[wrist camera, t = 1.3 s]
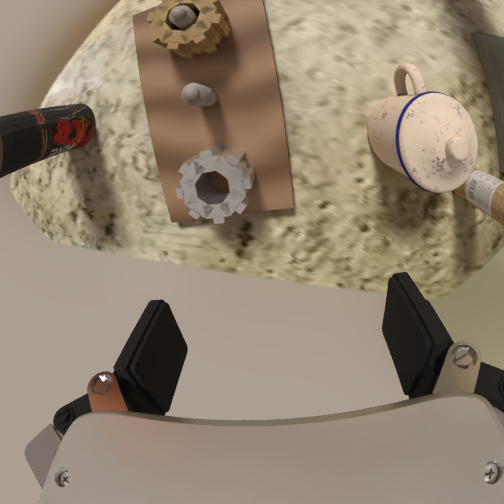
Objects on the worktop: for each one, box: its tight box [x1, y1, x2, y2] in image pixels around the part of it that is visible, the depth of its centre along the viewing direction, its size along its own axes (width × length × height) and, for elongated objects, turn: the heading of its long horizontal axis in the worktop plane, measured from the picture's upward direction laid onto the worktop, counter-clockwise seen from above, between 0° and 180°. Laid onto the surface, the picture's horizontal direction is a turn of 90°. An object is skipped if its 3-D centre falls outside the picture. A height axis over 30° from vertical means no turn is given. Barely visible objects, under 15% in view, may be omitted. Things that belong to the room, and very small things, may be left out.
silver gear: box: [176, 144, 255, 224], centre depth 26 cm, size 7×7×5 cm
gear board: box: [133, 0, 294, 223], centre depth 22 cm, size 26×14×8 cm, turn 9°
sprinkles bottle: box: [453, 168, 504, 225], centre depth 20 cm, size 5×5×14 cm
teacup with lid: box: [368, 63, 478, 193], centre depth 19 cm, size 12×9×12 cm
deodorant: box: [0, 104, 95, 178], centre depth 20 cm, size 6×6×15 cm
